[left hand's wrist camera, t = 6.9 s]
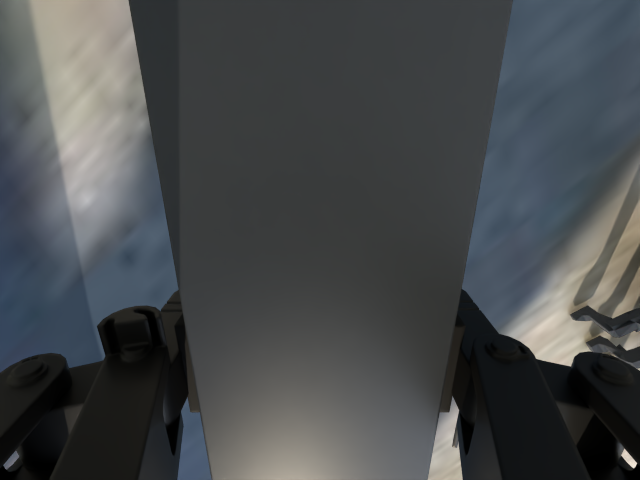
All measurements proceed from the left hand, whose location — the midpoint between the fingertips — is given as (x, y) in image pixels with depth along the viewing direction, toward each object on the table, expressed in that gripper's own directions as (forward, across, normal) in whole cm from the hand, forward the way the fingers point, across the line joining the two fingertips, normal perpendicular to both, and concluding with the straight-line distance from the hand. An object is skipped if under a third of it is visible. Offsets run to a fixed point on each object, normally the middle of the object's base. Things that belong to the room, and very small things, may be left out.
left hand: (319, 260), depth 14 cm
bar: (0, 0, -7) cm, 7 cm away
